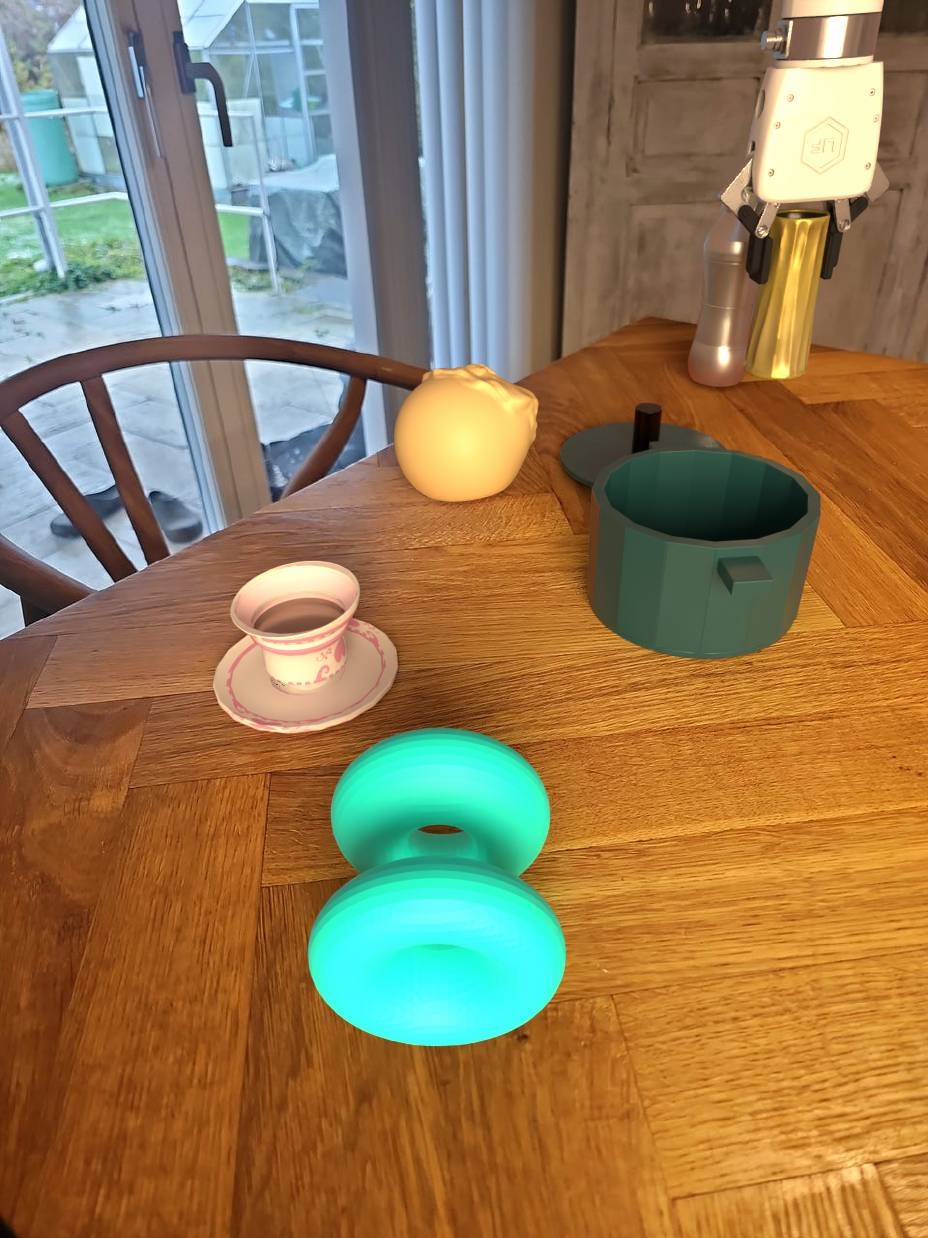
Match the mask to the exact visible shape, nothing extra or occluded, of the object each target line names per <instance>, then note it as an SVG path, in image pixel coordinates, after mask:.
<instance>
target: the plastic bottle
mask: <svg viewBox="0 0 928 1238" xmlns="http://www.w3.org/2000/svg"><path fill="white" fill-rule="evenodd" d="M741 197H742V199H743V200H744V201H745V202H746V203H747V204H748V205H749V206H750V207H752V208H753V205H754V203H755V201H756V198H757V196H753V195H750V194H748V193H746V192H745V191H744V189H743V191H742V193H741ZM720 207H721V209H723V213H722V215H721V216H720V217H719V218H718V220H717V221H716V222H715V224H713V226H712V228H711V229H710V230H709V231H708V233H707V235H706V238H705V240H704V242H703V248H702V254H703V256H702V268H703V269H702V273H703V275H702V289H701V297H702V299H701V300H700V302H701V303H700V311H699V316H698V321H697V324H696V325H697V326H696V329H695V334H694V339H693V341H692V343H691V345H690V346H691V347H690V349H689V353H688V356H687V357H688V358H687V372H688V374H689V376H690V378H691V380H692V381H693V382H695V383H697V384H700V385H702V386H706V387H707V386H708V387H714V388H723V387H725V388H727V387H732V386H735V385H738V384H740V382H741V381H742V380H743V379H744V378H745V377H746V374H747V373H746V372H745V371H744V369H743V364H744V360H745V356H746V350H747V345H748V339H749V334H750V328H751V322H752V317H753V310H754V306H755V302H754V301H755V300H756V296H757V292H758V286H759V284H757V283H756V282H754V281H753V280H752V279H750V278H749V273H747V271H746V259H747V252H748V244H749V236H750V233H749V232H748V231H747V230H746V228H745V227H744V226H743V225H742V223H741V222H740V221H739V220H738V219H737V217H736V216H735V215H734V214H733V213H732V212H731V211H730V210H729V209H728V208H727V207H726V206H725V205H724V204H723V203H722V202H721V205H720Z"/></svg>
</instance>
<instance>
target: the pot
mask: <svg viewBox="0 0 928 1238" xmlns="http://www.w3.org/2000/svg"><path fill="white" fill-rule="evenodd" d="M821 498H822V497H821V494H820V493H819V492H818V490H817V489H816V488H815V487H814V486H813V485H812V483H810V482H809V481H808V480H807V478H806V477H805V476H804V475H803V474H802V473H799V472H797V471H795V470H794V469H791V468H789V467H787V466H786V465H785V464H784V465H783V464H782V463H780V462H778V461H775V460H774V459H771V458H768V457H767V458H766V457H763V456H759V455H755V454H753V453H749V452H745V451H741V450H737V449H731V448H726V449H721V448H711V447H701V446H683V444H682V443H681V442H680V441H679V440H677V441H659V442H650V443H649V450H646V451H642V452H638V453H634V454H631V455H627V456H623V457H621V458H620V459H618V460H616V461H615V462H613V463H612V464H610V465H608V466H607V467H605V468H603V469H602V470H601V471H600V472H599V475H598V477H597V479H596V481H595V483H594V485H593V487H592V488H591V497H590V512H589V528H588V529H589V530H588V543H587V544H588V547H587V561H586V563H587V564H586V578H585V579H586V580H585V588H586V590H587V600H588V604H589V606H590V608H591V610H592V612H593V614H594V615H595V617H596V618H597V619H598V620H599V621H600V622H601V624H603V625H604V626H605V627H606V628H607V629H608V630H609V631H611V632H612V633H614V634H615V635H617V636H619V637H620V638H622V639H623V640H625V641H628V642H630V643H631V644H634V645H636V646H639V647H641V648H644V649H646V650H649V651H653V652H656V653H660V654H663V655H668V656H674V657H679V658H687V659H700V660H716V659H717V660H718V659H719V660H720V659H728V658H729V659H730V658H737V657H742V656H745V655H750V654H753V653H756V652H759V651H762V650H764V649H766V648H769V647H770V646H772V645H774V644H776V643H777V642H779V641H780V640H781V639H782V638H783V637H784V636H785V635H786V634H787V633H788V632H789V631H790V629H791V628H792V626H793V623H794V621H795V620H796V619H797V618H798V617H797V616H798V612H799V608H800V604H801V600H802V595H803V591H804V588H805V583H806V579H807V574H808V571H809V566H810V561H811V558H812V554H813V549H814V545H815V541H816V536H817V534H818V533H817V532H818V528H819V524H820V520H821V514H822V513H821V511H822V509H821V507H822V506H821V505H822V504H821V503H822V502H821V501H822V499H821Z"/></svg>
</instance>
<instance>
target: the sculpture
mask: <svg viewBox="0 0 928 1238" xmlns="http://www.w3.org/2000/svg"><path fill="white" fill-rule="evenodd" d="M538 413H539V400H538V397H536V395H535V394H534V393H533V392H532V391H531V390H529V389H527V388H525V387H523V386H519V385H517V384H514V383H512V382H509V381H507V380H506V379H505V378H502V377H500V376H499V375H498V373H497V372H496V371H494V370H493V369H492V368H491V367H489V366H486V365H485V364H482V363H472V364H467V365H465V366H457V367H453V368H449V367H440V368H433V370H429V371H426V372H425V373H424V374H423V375H422V380H421V383H420V384H419V385H417V386H416V387H415V388H414V389H413V390H412V391H411V392H410V393H409V394H408V396H407V397H406V398H405V399H404V401H403V403H402V405H401V407H400V409H399V411H398V414H397V418H396V419H395V425H394V430H393V447H394V453H395V456H396V460H397V463H398V465H399V468H400V470H401V472H402V474H403V475H404V477H405V478H406V480H407V482H409V484H410V485H411V486H412V487H413V488H414V489H415V490H416V491H417V492H419V493H420V494H421V495H423V496H425V497H427V498H429V499H432V500H435V501H440V502H449V503H451V502H452V503H458V502H459V503H460V502H469V501H475V500H480V499H484V498H487V497H488V498H489V497H492V496H494V495H497V494H499V493H501V492H502V491H504V490H506V489H507V488H508V487H509V486H510V485H511V484H512V483H513V481H514V480H515V478H516V477H517V475H518V474H519V472H520V470H521V468H522V466H523V464H524V462H525V460H526V457H527V455H528V452H529V449H530V447H531V446H532V444H533V443H534V442H535V440H536V437H537V429H538V422H537V415H538Z"/></svg>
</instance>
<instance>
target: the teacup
mask: <svg viewBox="0 0 928 1238" xmlns="http://www.w3.org/2000/svg"><path fill="white" fill-rule="evenodd" d="M360 586H361V585H360V582H359V580H358V578H357V577H356V576H355V574H354V573H353V572H352V571H350V570H349V569H348V568H346V567H344V566H343V565H340V564H337V563H333V562H329V561H324V560H323V561H322V560H304V561H295V562H291V563H286V564H283V565H279V566H277V567H273V568H271V569H269V570H267V571H264V572H262V573H260V574H259V575H257V576H255V577H253V578H252V579H251V580H249V581H248V582H247V583H246V584H244V585H243V586H242V587H241V588H240V589H239V590H238V592H237V593H236V594H235V596H234V597H233V599H232V601H231V605H230V607H229V608H230V609H229V613H230V614H229V616H230V618H231V620H232V622H233V624H234V625H235V626H236V627H237V628H238V629H240V630H241V631H243V633H245V634H246V635H245V636H244V637H242V638H241V639H239V641H237V642H236V643H235V644H233V645H232V646H231V647H230V648H228V649H227V651H226V652H225V653H224V654H223V657H222V658H221V659H220V661H219V662H218V663H217V665H216V667H215V670H214V676H213V682H212V688H213V691H214V694H215V698H216V700H217V704H218V706H219V707H220V708H221V709H222V710H223V711H224V712H225V713H226V714H227V715H228V716H229V717H230V718H232V720H234V721H235V722H238V723H240V724H242V725H245V726H248V727H250V728H252V729H255V730H257V731H262V732H272V733H280V734H298V733H306V732H307V733H308V732H315V731H322V730H324V729H327V728H330V727H335V726H337V725H341V724H343V723H346V722H349V721H352V720H353V719H355V718H356V717H358V716H360V715H361V714H364V713H365V712H367V711H368V710H370V709H371V708H372V709H373V708H374V707H375V706H376V705H377V704H378V703H379V702H380V701H381V699H382V698H383V697H385V695H386V694H387V693H388V692H389V691H390V690H391V689H392V686H393V684H394V682H395V680H396V677H397V674H398V672H399V662H398V650H397V648H396V646H395V645H394V643H393V642H392V640H391V639H390V637H389V636H388V634H387V633H385V632H384V631H382V630H381V629H380V628H377V627H376V626H375V625H373V624H372V623H370V622H367V621H364V620H361V619H357V618H354V617H353V616H354V615H355V613H356V612H357V610H358V608H359V605H360V597H361V596H360V592H361V587H360ZM271 679H272V680H273V681H271ZM277 680H278V681H280V682H281V683H280V682H278V681H277ZM274 682H275V683H276V684H278V685H276V684H274ZM282 684H283V685H285V686H283V685H282ZM279 686H280V687H279Z"/></svg>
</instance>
